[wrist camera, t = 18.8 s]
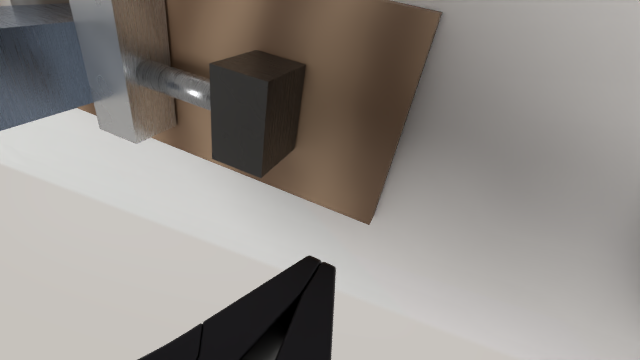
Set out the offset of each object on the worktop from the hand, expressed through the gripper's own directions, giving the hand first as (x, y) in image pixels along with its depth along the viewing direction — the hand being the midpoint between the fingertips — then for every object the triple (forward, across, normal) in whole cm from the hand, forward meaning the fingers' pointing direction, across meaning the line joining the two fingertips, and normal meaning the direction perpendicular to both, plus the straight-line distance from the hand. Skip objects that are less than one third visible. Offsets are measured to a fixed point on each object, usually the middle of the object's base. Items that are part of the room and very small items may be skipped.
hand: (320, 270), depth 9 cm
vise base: (+11, +14, 0) cm, 18 cm away
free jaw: (+10, +11, 0) cm, 15 cm away
